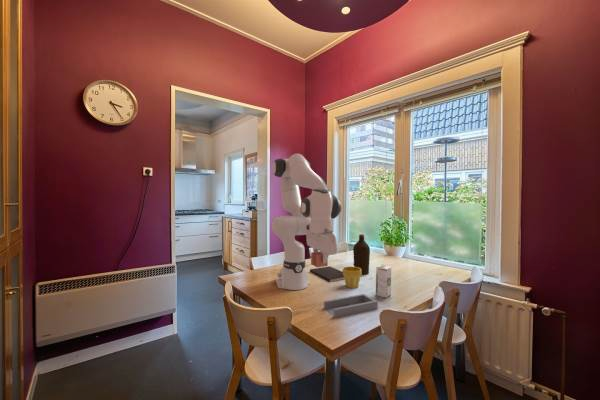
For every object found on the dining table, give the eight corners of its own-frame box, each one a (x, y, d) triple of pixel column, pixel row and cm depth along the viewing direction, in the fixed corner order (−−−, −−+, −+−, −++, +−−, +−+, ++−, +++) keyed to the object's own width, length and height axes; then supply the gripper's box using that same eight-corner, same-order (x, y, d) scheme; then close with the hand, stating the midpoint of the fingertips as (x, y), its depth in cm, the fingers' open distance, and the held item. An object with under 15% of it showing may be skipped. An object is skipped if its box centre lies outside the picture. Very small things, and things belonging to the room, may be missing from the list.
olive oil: (373, 273, 163) (373, 234, 163) (362, 276, 157) (362, 236, 157) (360, 269, 172) (360, 233, 172) (349, 272, 165) (349, 234, 165)
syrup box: (379, 292, 130) (380, 264, 130) (391, 295, 126) (391, 266, 126) (375, 295, 125) (375, 266, 125) (387, 298, 122) (387, 268, 122)
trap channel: (323, 310, 108) (323, 301, 108) (363, 302, 117) (363, 293, 117) (335, 320, 100) (335, 309, 100) (377, 310, 108) (377, 301, 108)
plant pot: (339, 283, 142) (339, 266, 142) (356, 282, 145) (356, 265, 145) (347, 290, 132) (347, 271, 132) (365, 288, 135) (365, 270, 135)
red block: (321, 262, 108) (310, 264, 105) (321, 251, 108) (311, 252, 105) (327, 265, 103) (317, 267, 101) (327, 253, 103) (317, 255, 101)
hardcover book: (329, 269, 173) (329, 266, 173) (351, 279, 153) (351, 275, 153) (309, 272, 166) (309, 269, 166) (329, 283, 145) (329, 279, 145)
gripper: (341, 230, 96) (340, 266, 96) (316, 224, 115) (316, 254, 115) (326, 231, 94) (326, 268, 94) (304, 225, 112) (303, 256, 113)
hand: (320, 260), depth 105 cm, fingers closed on red block, 5 cm apart
